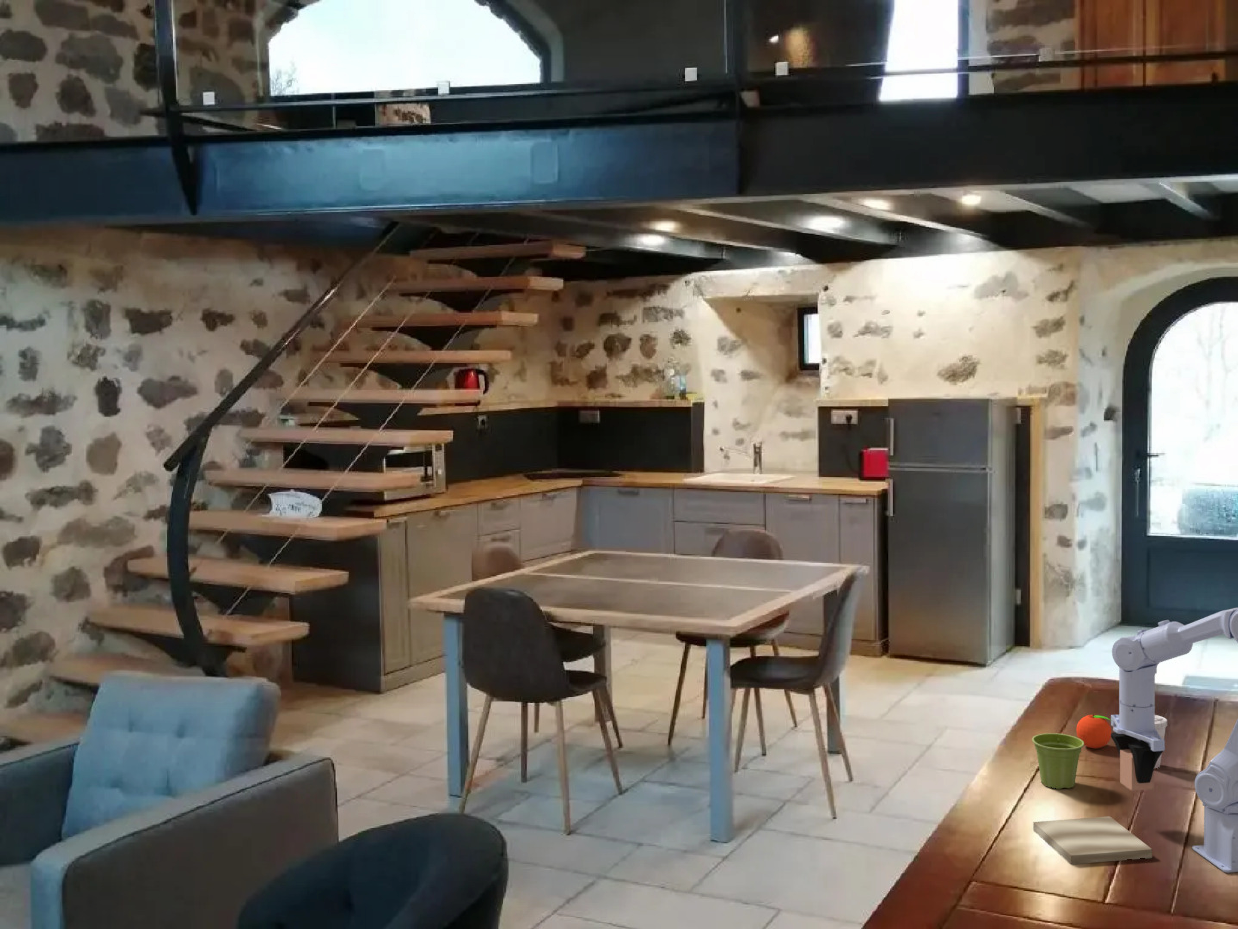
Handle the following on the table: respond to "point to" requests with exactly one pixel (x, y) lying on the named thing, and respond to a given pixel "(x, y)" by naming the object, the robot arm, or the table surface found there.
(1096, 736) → the clementine
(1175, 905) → the table surface
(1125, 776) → the block
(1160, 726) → the smoothie
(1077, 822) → the board
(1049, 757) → the plant pot
